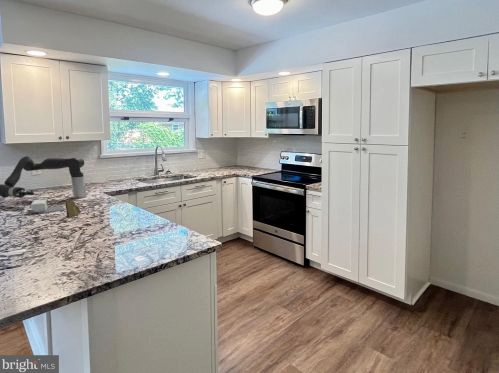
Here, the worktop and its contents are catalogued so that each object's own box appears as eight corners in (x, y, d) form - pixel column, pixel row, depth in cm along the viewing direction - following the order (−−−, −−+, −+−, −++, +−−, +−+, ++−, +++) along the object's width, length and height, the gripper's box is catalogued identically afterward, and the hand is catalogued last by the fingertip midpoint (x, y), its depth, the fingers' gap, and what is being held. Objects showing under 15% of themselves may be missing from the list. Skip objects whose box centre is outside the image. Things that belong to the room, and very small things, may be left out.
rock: (78, 208, 228) (62, 209, 221) (81, 199, 225) (65, 200, 217) (82, 220, 223) (66, 221, 216) (86, 211, 219) (70, 212, 212)
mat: (59, 206, 245) (59, 205, 245) (64, 209, 234) (64, 209, 234) (34, 210, 235) (34, 209, 235) (38, 214, 224) (38, 213, 224)
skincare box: (46, 199, 241) (45, 202, 228) (47, 207, 242) (46, 211, 229) (32, 200, 237) (30, 204, 224) (33, 208, 238) (31, 212, 225)
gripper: (26, 195, 256) (42, 196, 249) (8, 198, 244) (24, 200, 237) (25, 185, 255) (40, 186, 248) (7, 188, 243) (22, 190, 236)
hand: (32, 193), depth 243 cm, fingers closed
